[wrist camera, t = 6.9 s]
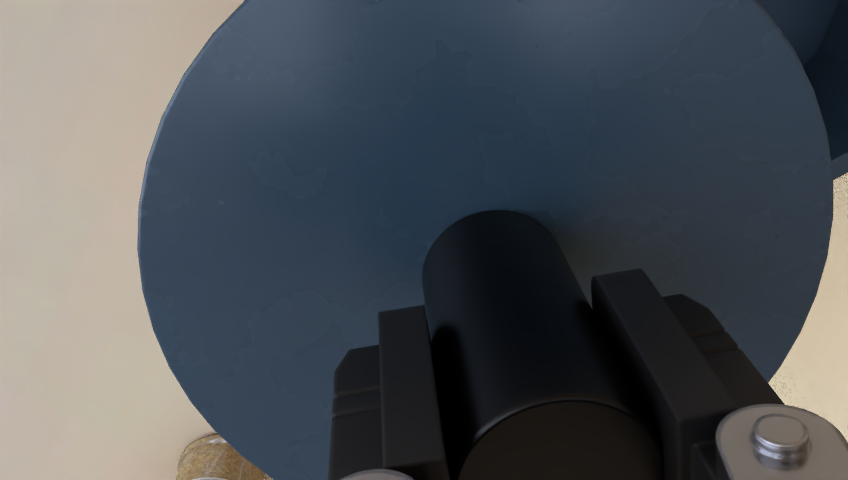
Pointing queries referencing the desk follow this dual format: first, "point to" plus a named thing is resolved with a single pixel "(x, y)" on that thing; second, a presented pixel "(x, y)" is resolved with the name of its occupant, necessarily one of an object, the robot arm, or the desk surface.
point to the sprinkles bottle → (215, 462)
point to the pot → (821, 61)
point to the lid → (476, 213)
